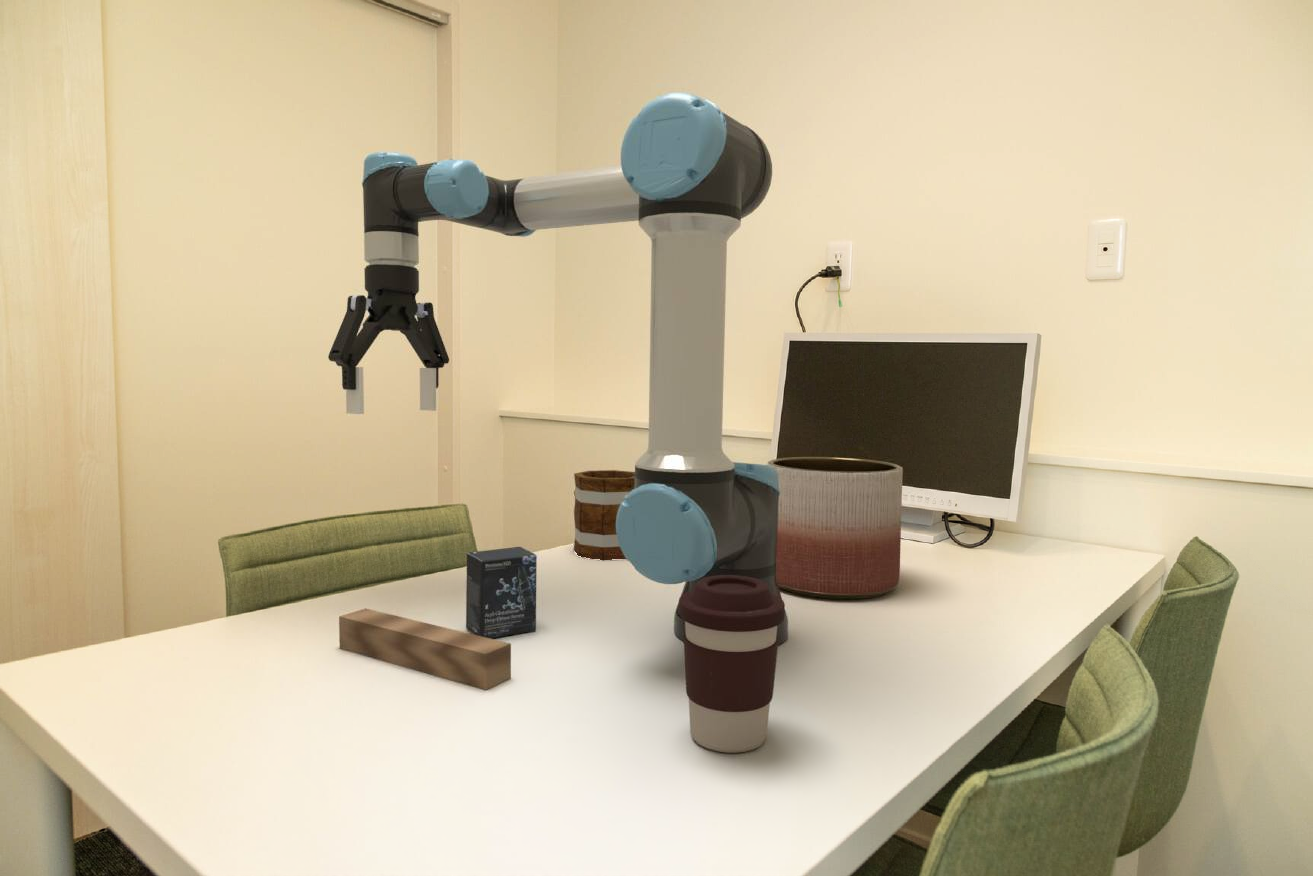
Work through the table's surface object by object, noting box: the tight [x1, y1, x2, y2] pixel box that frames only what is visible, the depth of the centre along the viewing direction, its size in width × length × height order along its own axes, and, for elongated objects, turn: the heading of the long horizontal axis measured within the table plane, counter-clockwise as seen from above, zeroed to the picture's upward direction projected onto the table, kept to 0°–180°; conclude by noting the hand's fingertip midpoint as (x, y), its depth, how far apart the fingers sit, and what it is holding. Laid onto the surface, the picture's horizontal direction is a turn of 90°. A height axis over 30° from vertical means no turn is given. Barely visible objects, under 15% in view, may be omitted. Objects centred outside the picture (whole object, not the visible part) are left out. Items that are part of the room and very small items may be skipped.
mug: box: [573, 469, 635, 561], centre depth 150 cm, size 20×14×15 cm
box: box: [465, 546, 538, 639], centre depth 106 cm, size 8×6×11 cm
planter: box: [766, 456, 904, 600], centre depth 133 cm, size 22×22×20 cm
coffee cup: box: [678, 575, 786, 754], centre depth 76 cm, size 10×10×15 cm
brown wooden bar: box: [338, 607, 512, 691], centre depth 95 cm, size 24×4×4 cm, turn 59°
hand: (393, 412), depth 119 cm, fingers open, 13 cm apart
